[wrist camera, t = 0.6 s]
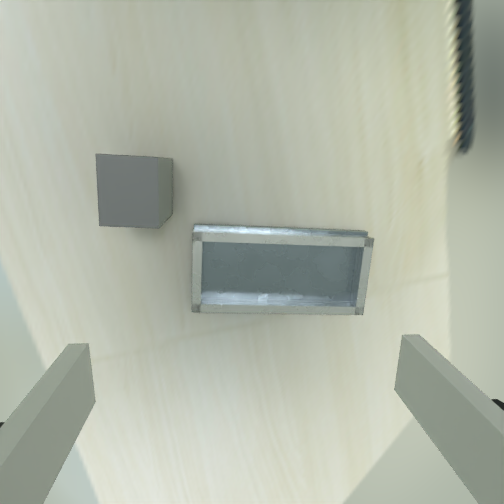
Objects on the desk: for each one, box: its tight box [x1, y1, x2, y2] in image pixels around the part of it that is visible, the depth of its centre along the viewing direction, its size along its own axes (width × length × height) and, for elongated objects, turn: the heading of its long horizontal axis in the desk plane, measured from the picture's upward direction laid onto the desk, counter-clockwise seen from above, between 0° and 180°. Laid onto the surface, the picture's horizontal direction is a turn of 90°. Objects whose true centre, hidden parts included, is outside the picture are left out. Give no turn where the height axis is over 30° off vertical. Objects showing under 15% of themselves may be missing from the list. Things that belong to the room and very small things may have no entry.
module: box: [96, 154, 172, 228], centre depth 34 cm, size 6×5×9 cm
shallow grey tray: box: [192, 224, 374, 315], centre depth 40 cm, size 10×20×3 cm, turn 87°
